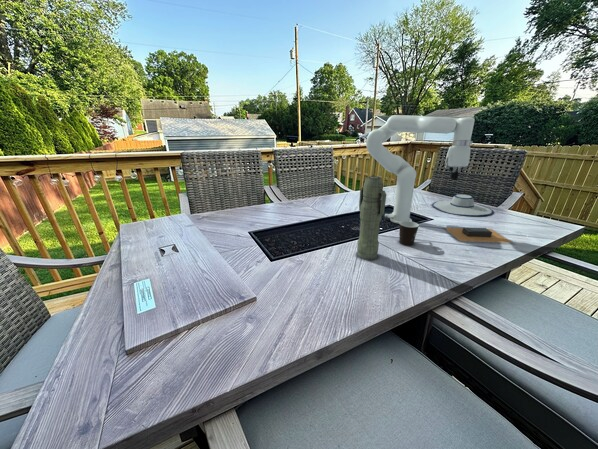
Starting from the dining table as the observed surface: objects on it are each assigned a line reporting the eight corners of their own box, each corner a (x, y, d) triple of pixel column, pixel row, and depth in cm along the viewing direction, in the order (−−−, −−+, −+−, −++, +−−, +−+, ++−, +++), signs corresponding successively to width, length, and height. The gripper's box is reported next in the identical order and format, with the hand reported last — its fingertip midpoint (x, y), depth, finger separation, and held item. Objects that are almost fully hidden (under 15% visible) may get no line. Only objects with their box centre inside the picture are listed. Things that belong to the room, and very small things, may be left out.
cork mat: (459, 241, 122) (459, 240, 122) (444, 228, 139) (444, 227, 139) (512, 243, 119) (512, 242, 119) (490, 229, 136) (490, 229, 136)
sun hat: (431, 200, 196) (433, 188, 193) (485, 204, 182) (488, 192, 179) (433, 212, 165) (435, 199, 162) (499, 219, 151) (503, 205, 148)
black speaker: (468, 231, 126) (492, 231, 124) (463, 226, 131) (485, 227, 130) (467, 236, 127) (490, 237, 125) (462, 232, 132) (484, 232, 131)
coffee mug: (407, 248, 117) (410, 228, 113) (393, 241, 124) (395, 222, 120) (423, 243, 122) (427, 224, 118) (409, 237, 129) (412, 218, 125)
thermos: (373, 263, 104) (382, 180, 92) (350, 254, 112) (355, 177, 100) (384, 256, 110) (393, 177, 97) (361, 248, 118) (367, 174, 105)
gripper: (472, 143, 128) (465, 178, 135) (442, 143, 130) (436, 178, 137) (480, 143, 121) (472, 181, 128) (448, 144, 123) (441, 180, 130)
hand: (453, 179), depth 132 cm, fingers closed
